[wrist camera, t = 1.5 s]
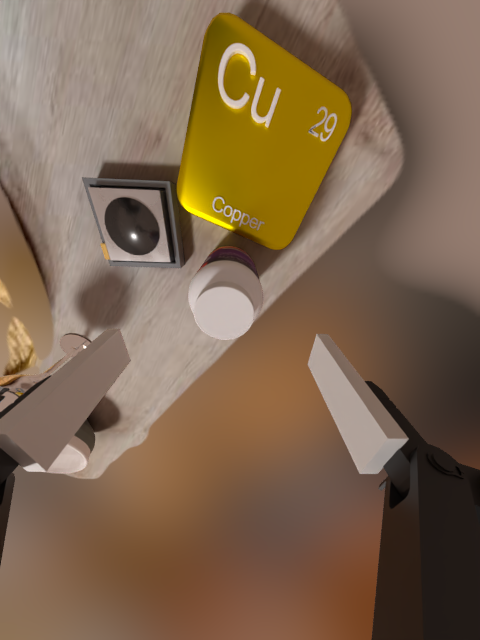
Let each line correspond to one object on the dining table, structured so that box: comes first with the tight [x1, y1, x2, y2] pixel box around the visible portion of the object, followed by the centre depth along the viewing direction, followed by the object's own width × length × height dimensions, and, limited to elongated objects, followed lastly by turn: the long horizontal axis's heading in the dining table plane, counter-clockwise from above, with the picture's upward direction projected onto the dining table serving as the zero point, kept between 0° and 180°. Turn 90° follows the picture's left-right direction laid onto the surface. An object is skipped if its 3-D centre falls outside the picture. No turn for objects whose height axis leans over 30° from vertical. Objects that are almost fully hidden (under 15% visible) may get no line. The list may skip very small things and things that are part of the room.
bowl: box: [46, 419, 95, 473], centre depth 44 cm, size 19×19×8 cm
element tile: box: [177, 13, 352, 250], centre depth 21 cm, size 15×15×5 cm
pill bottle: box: [188, 246, 263, 340], centre depth 22 cm, size 8×8×14 cm
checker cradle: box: [82, 177, 185, 268], centre depth 24 cm, size 10×10×3 cm
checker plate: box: [88, 187, 175, 262], centre depth 23 cm, size 8×8×2 cm
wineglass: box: [0, 334, 91, 412], centre depth 28 cm, size 8×8×18 cm
